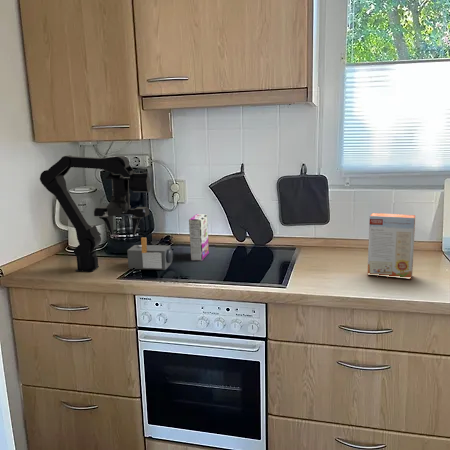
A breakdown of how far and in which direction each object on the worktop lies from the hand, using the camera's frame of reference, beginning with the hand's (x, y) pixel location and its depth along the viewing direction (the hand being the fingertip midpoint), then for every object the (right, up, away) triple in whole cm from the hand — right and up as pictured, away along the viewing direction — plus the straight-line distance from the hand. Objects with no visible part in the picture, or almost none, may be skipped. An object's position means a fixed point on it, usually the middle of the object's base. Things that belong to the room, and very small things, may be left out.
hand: (123, 235), depth 169 cm
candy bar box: (+27, -9, +17) cm, 33 cm away
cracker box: (+92, -14, -10) cm, 94 cm away
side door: (+10, -13, +1) cm, 16 cm away
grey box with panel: (+9, -12, +6) cm, 16 cm away
